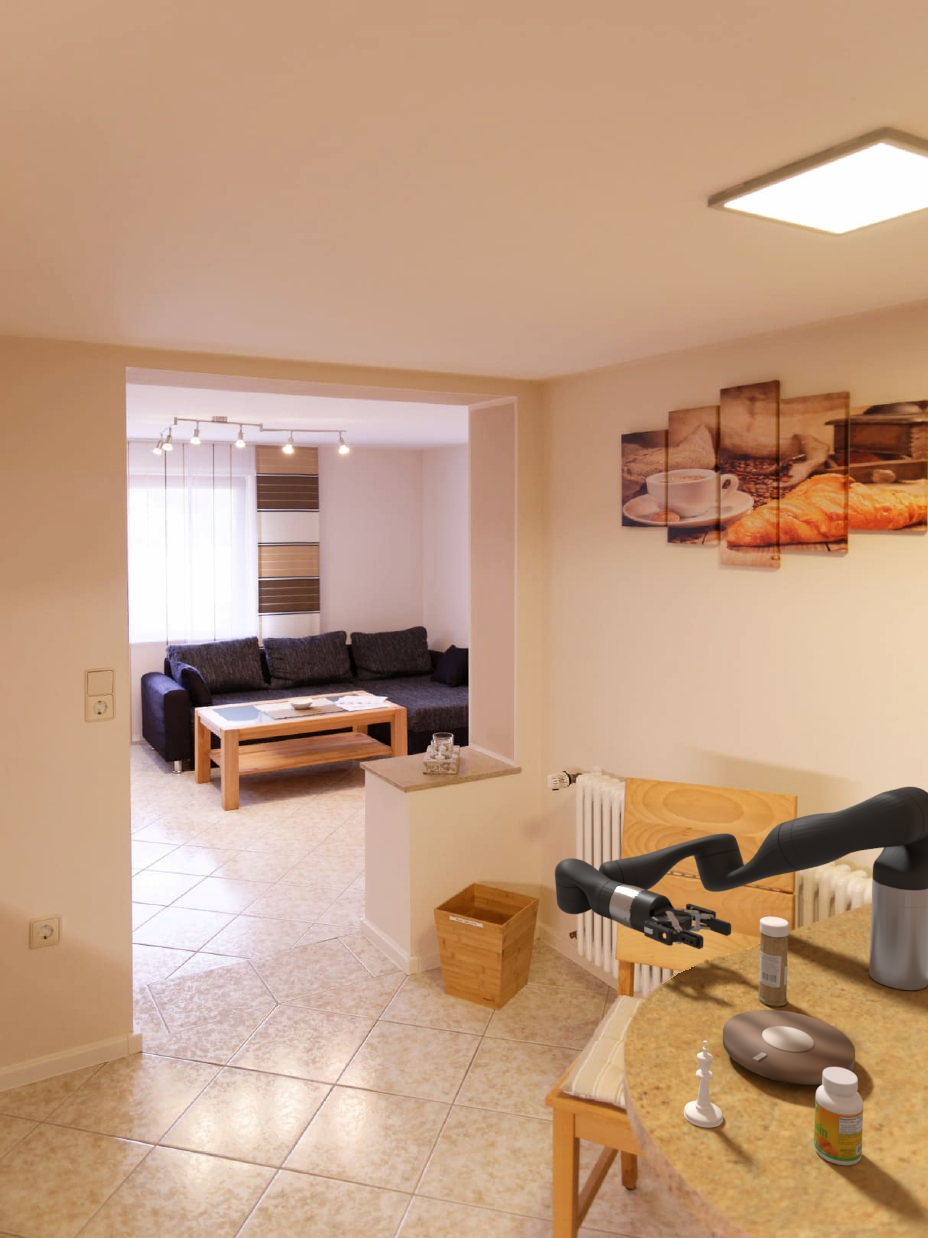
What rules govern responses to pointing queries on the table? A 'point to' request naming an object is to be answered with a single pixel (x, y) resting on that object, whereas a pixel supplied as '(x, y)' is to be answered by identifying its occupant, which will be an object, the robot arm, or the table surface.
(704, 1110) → the chess piece
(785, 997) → the sprinkles bottle
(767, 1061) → the turntable platter
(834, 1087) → the supplement bottle
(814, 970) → the table surface
